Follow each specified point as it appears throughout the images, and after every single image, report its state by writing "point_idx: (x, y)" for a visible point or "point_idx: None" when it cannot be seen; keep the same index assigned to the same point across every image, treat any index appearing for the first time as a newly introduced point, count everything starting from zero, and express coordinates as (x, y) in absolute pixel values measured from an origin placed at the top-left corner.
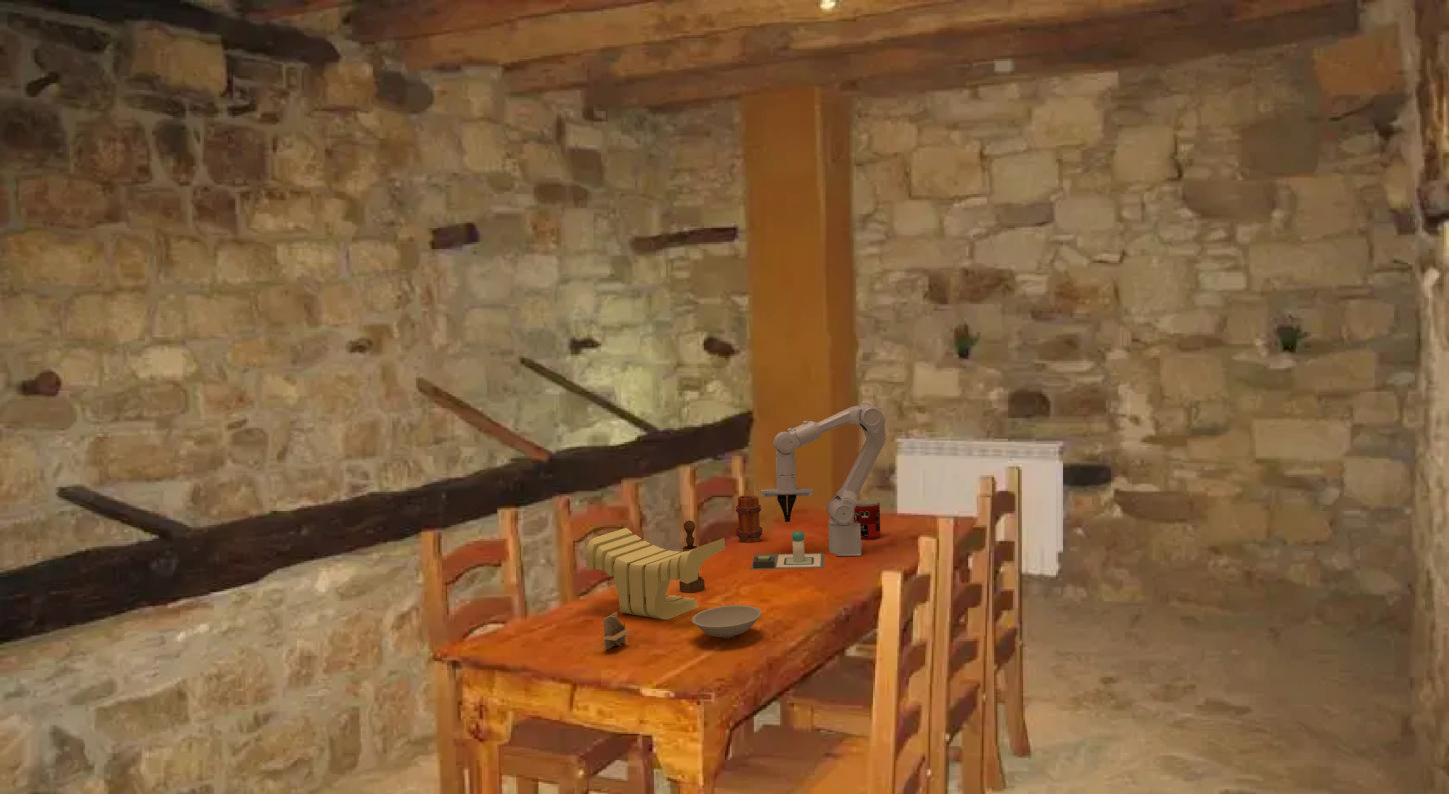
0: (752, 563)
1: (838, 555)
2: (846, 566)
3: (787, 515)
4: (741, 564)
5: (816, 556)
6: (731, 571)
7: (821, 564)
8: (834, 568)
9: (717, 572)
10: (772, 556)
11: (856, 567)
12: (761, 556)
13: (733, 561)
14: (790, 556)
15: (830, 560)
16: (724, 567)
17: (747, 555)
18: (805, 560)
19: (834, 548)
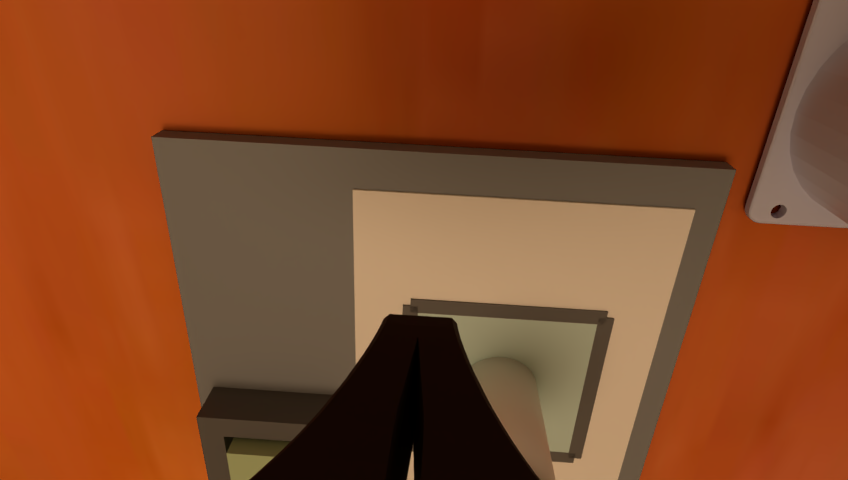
0: (199, 385)
1: (828, 225)
2: (776, 447)
3: (413, 365)
4: (123, 319)
5: (640, 287)
6: (113, 447)
7: (628, 462)
8: (692, 472)
9: (42, 454)
10: (307, 230)
11: (826, 472)
12: (248, 468)
13: (40, 237)
14: (445, 261)
15: (726, 305)
16: (40, 369)
17: (84, 58)
18: (542, 382)
19: (840, 217)
